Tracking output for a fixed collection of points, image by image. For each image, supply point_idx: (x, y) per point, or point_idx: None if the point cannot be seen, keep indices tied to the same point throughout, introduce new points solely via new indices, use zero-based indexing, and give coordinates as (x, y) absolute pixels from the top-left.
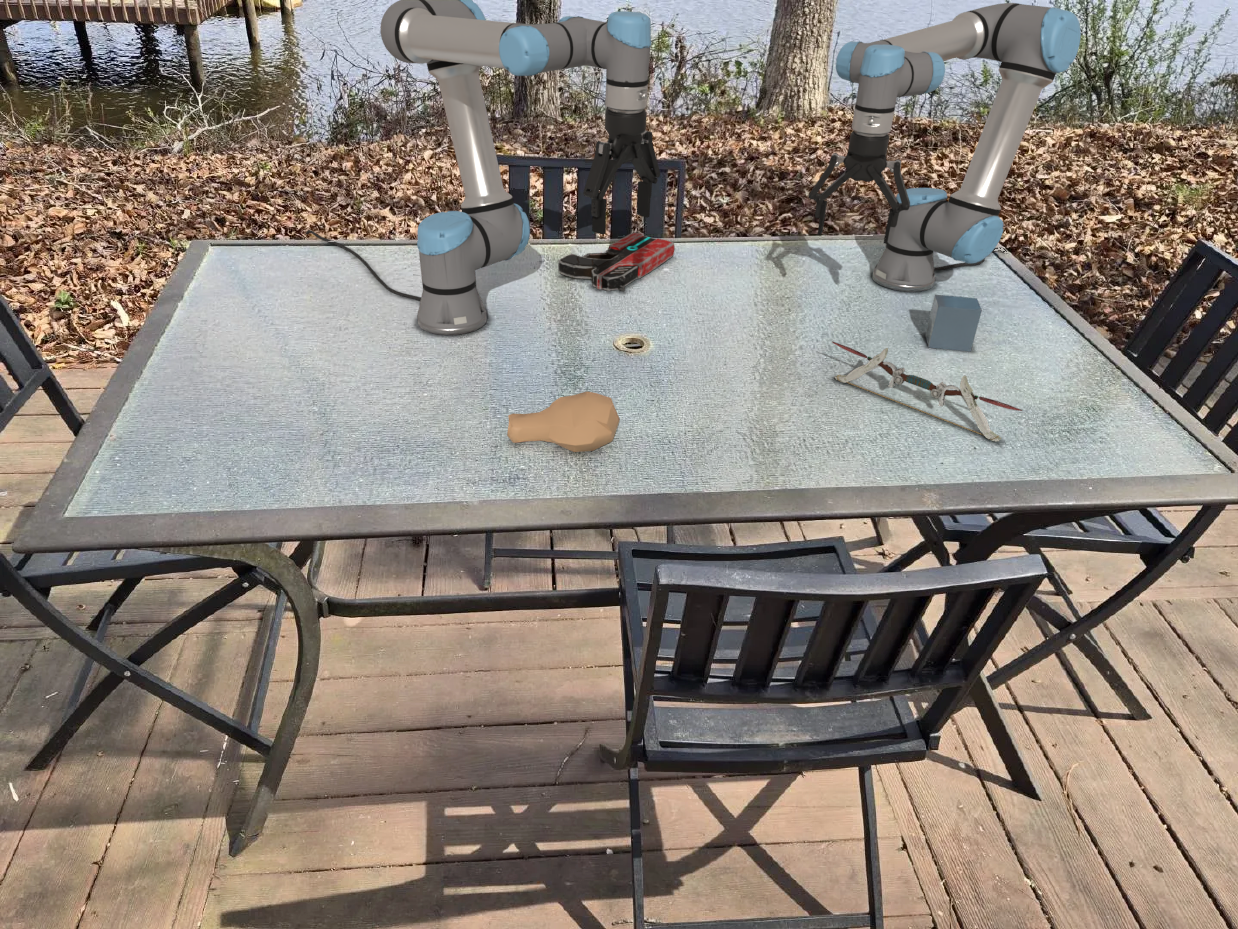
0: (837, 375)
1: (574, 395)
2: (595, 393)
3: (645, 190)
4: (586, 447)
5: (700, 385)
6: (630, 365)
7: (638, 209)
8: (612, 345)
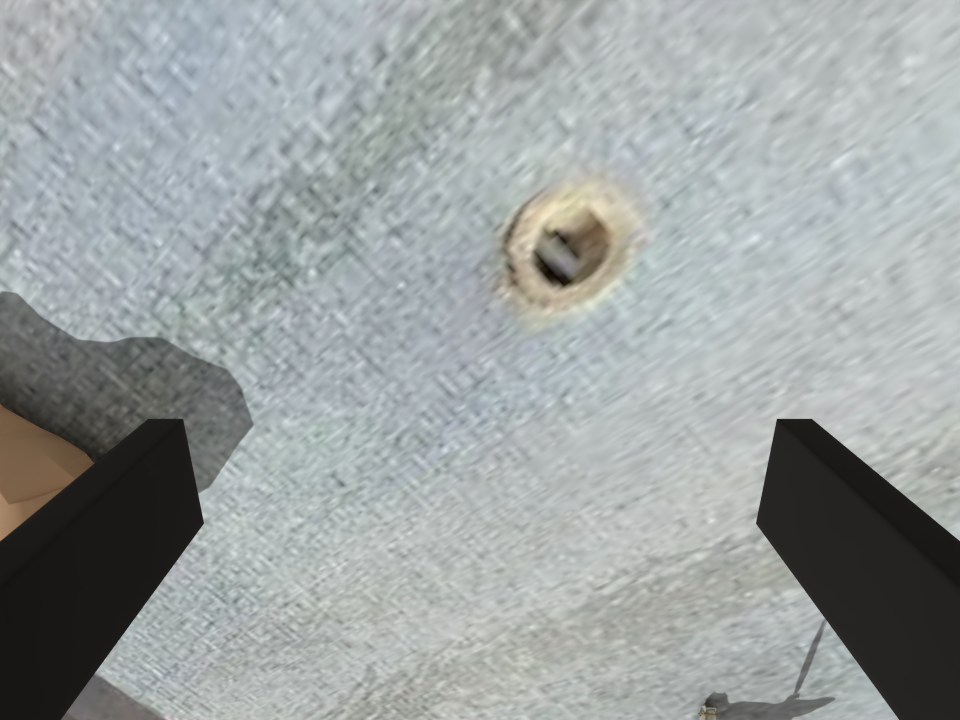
0: (714, 708)
1: (7, 509)
2: None
3: (925, 703)
4: None
5: (484, 521)
6: (448, 333)
7: (799, 463)
8: (516, 207)
